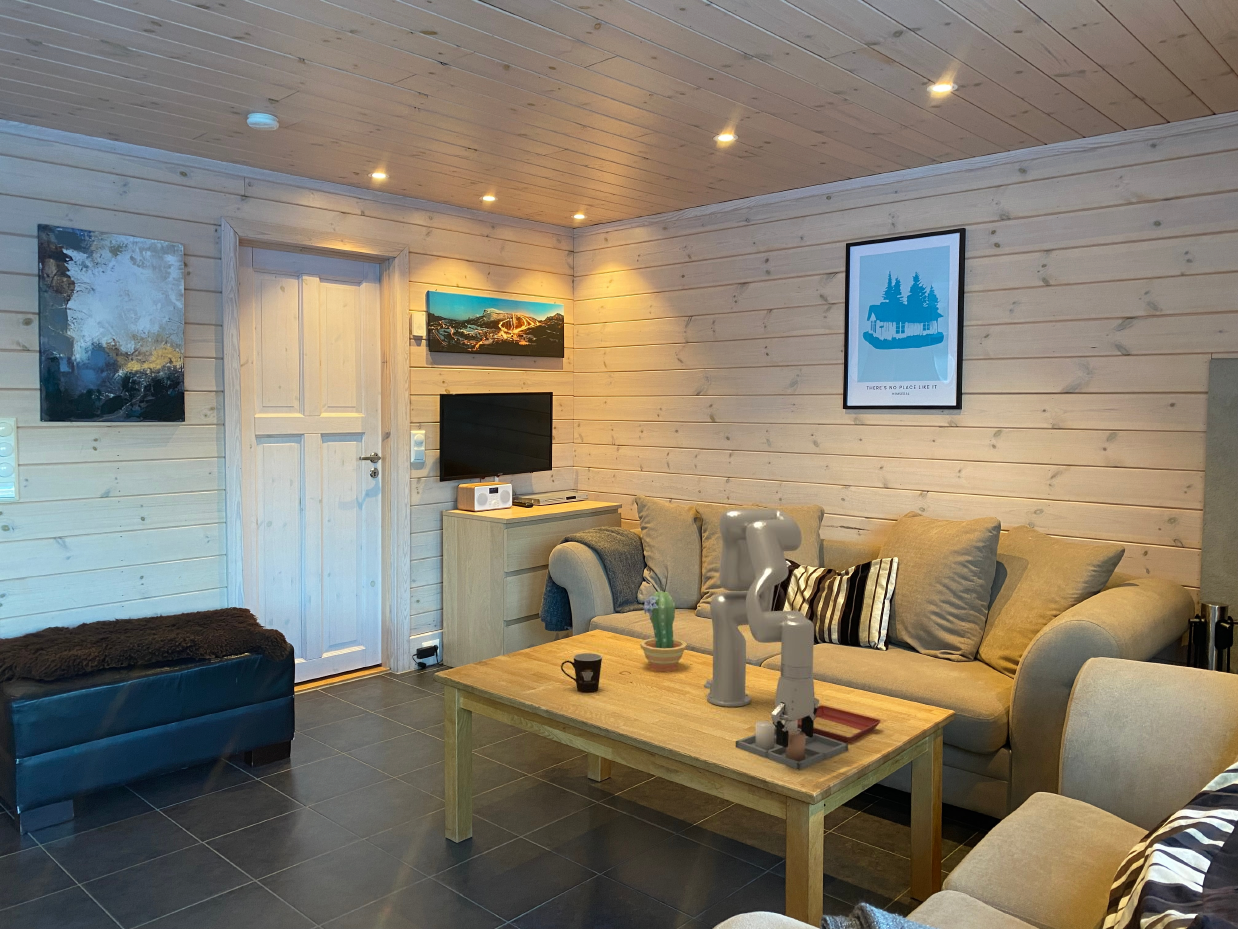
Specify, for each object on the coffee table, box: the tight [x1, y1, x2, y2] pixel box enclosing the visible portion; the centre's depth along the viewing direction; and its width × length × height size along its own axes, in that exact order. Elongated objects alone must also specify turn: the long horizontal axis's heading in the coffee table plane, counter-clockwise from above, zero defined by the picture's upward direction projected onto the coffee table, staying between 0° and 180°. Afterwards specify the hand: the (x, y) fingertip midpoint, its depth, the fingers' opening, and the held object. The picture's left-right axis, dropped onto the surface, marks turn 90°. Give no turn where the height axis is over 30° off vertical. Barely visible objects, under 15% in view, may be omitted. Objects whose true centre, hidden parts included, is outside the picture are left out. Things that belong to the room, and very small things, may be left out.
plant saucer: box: [797, 705, 882, 744], centre depth 241 cm, size 18×18×3 cm
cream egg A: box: [754, 720, 775, 751], centre depth 225 cm, size 5×5×6 cm
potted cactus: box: [639, 590, 688, 673], centre depth 299 cm, size 15×15×25 cm
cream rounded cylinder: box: [782, 716, 798, 731], centre depth 231 cm, size 5×5×6 cm
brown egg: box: [786, 731, 806, 762], centre depth 218 cm, size 5×5×6 cm
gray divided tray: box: [735, 726, 849, 771], centre depth 225 cm, size 19×19×2 cm
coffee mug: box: [560, 652, 603, 694], centre depth 275 cm, size 12×9×10 cm
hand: (794, 740), depth 219 cm, fingers open, 9 cm apart
